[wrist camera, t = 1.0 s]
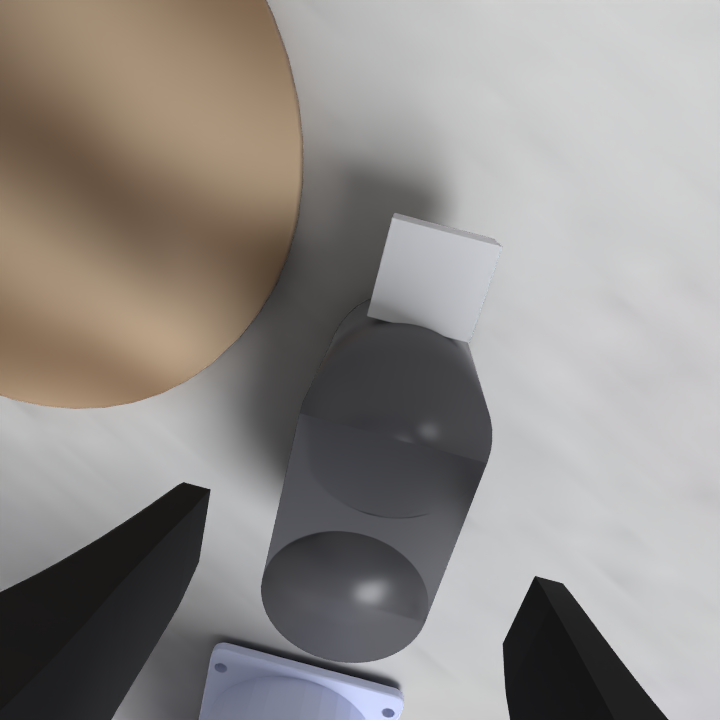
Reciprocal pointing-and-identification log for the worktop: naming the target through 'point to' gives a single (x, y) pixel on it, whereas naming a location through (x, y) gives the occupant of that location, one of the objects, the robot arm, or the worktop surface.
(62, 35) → the round copper disc
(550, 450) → the worktop surface
